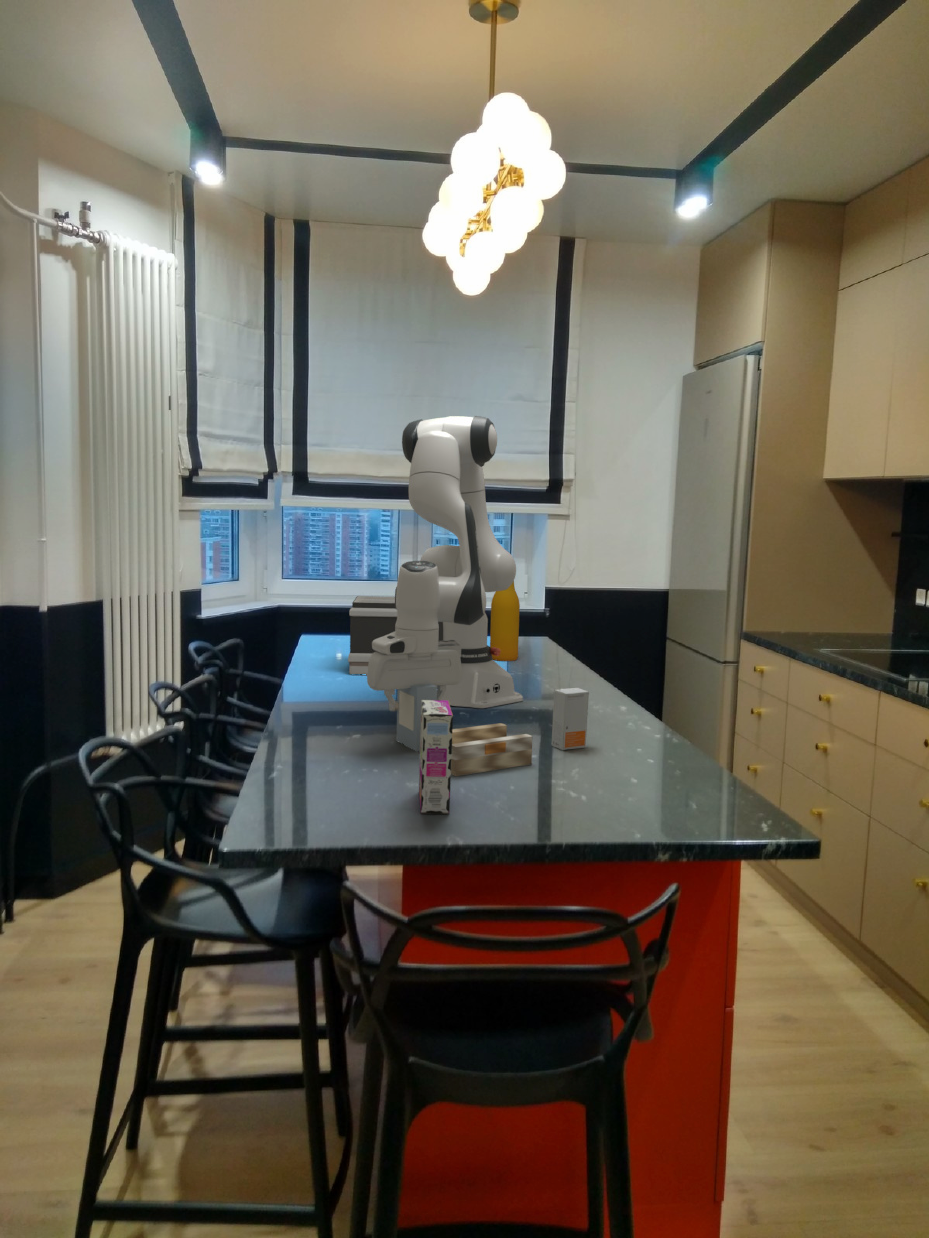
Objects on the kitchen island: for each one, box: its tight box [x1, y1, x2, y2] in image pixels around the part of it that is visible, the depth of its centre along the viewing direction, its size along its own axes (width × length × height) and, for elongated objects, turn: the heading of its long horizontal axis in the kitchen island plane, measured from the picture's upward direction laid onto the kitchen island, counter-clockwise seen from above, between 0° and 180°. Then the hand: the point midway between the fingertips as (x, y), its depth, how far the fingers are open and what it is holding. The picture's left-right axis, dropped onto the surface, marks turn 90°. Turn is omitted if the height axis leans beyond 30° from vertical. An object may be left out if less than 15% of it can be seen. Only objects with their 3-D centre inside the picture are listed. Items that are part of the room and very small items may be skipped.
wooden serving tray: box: [451, 722, 533, 777], centre depth 166 cm, size 17×11×6 cm, turn 120°
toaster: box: [347, 595, 443, 676], centre depth 254 cm, size 18×34×21 cm, turn 92°
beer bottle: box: [489, 580, 521, 662], centre depth 276 cm, size 9×9×29 cm
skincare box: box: [551, 687, 590, 751], centre depth 178 cm, size 6×4×12 cm
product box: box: [396, 684, 437, 753], centre depth 176 cm, size 4×9×13 cm, turn 30°
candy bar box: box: [418, 700, 454, 815], centre depth 142 cm, size 11×5×16 cm, turn 5°
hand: (414, 708), depth 176 cm, fingers open, 8 cm apart
